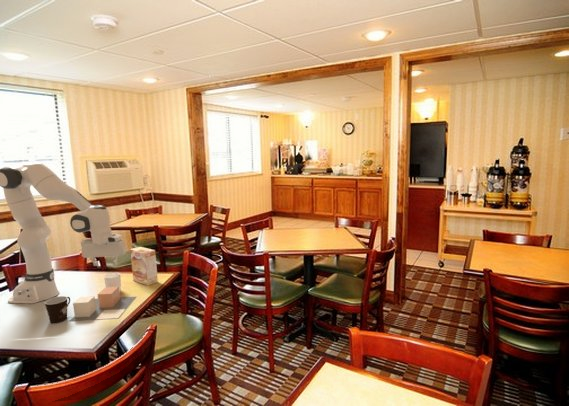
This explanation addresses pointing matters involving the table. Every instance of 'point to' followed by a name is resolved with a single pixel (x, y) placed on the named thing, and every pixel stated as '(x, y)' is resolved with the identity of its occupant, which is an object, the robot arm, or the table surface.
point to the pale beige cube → (84, 306)
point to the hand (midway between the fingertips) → (105, 264)
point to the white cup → (113, 280)
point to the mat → (108, 310)
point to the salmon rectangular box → (108, 297)
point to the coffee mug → (57, 309)
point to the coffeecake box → (144, 265)
